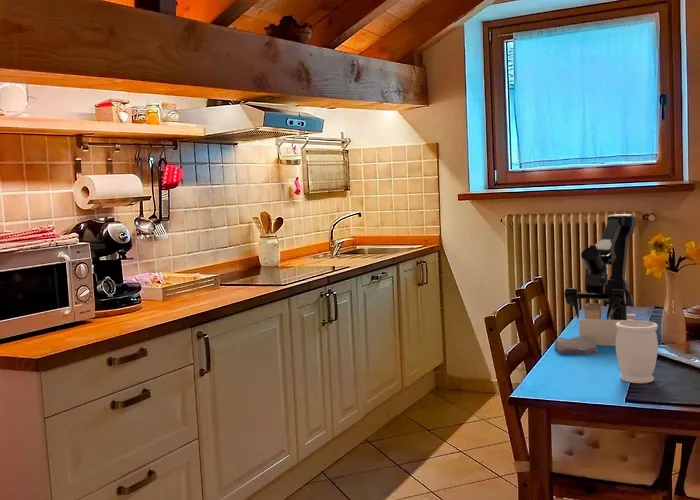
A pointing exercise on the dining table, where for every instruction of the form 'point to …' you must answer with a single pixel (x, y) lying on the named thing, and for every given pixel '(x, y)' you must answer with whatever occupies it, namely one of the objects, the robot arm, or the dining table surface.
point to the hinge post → (631, 316)
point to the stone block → (576, 345)
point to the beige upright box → (599, 330)
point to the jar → (636, 350)
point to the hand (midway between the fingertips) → (592, 318)
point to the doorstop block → (592, 310)
